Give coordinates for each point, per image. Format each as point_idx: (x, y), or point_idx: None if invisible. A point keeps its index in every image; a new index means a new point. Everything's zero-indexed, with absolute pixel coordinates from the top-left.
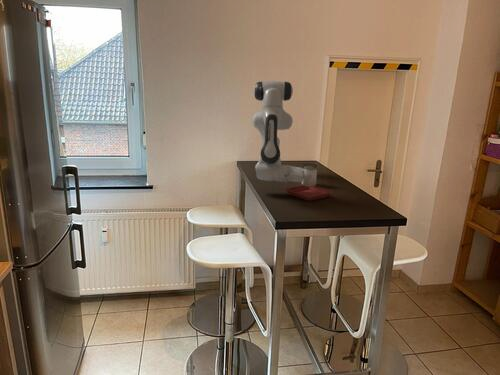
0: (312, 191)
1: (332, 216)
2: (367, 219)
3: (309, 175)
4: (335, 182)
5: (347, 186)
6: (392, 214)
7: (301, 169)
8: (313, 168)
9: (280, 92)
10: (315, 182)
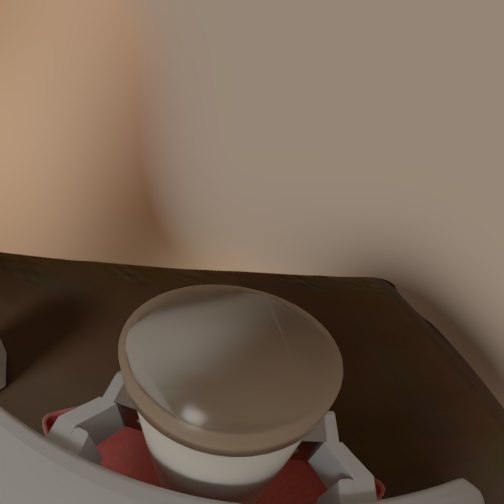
0: (124, 437)
1: (475, 397)
2: (436, 329)
3: (335, 429)
4: (18, 277)
5: (76, 270)
6: (365, 282)
7: (41, 449)
8: (321, 327)
9: None
10: (1, 344)
